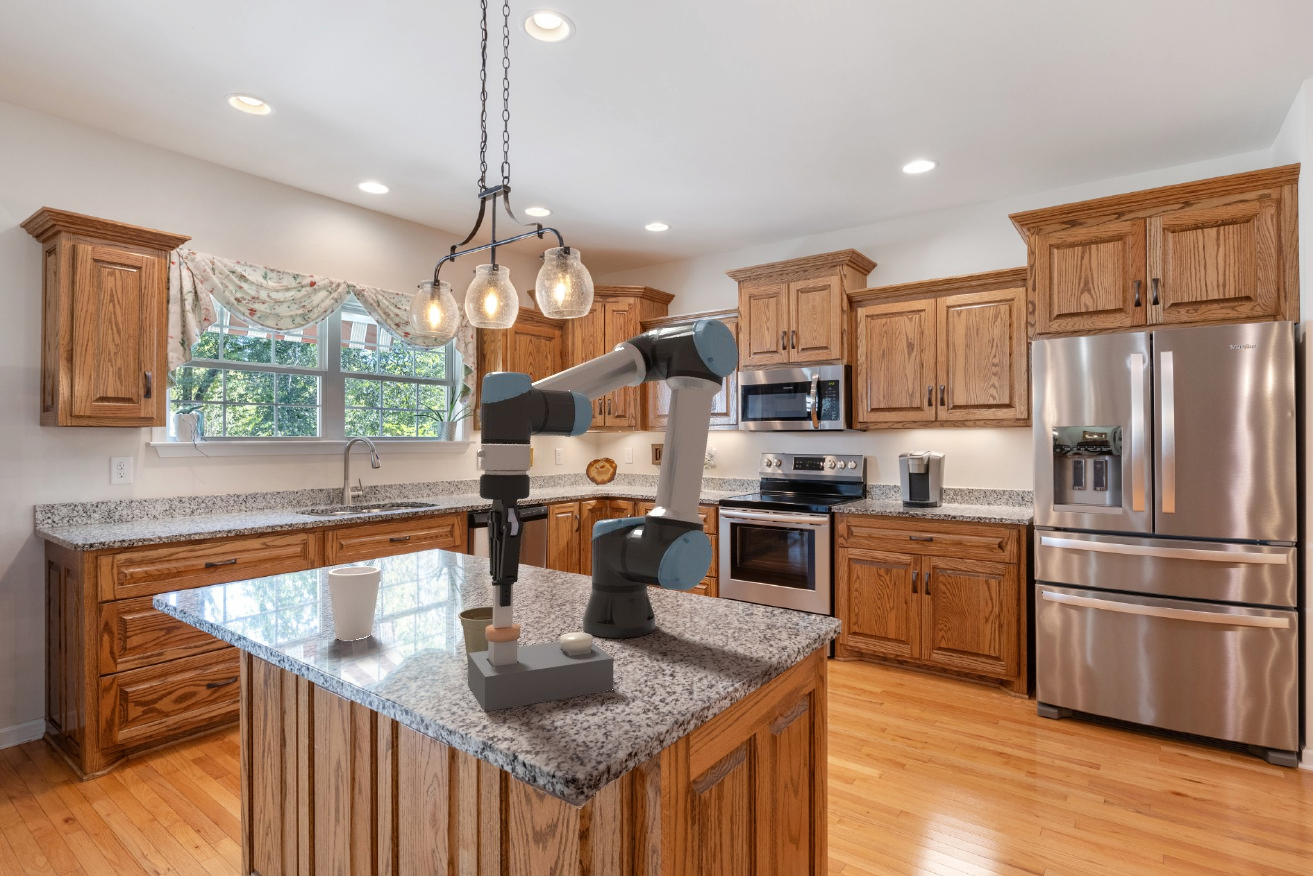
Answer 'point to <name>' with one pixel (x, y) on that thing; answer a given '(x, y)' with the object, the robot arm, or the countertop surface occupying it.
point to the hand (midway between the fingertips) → (502, 625)
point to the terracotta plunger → (502, 644)
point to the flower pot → (476, 628)
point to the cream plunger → (576, 643)
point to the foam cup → (354, 600)
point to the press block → (538, 676)
